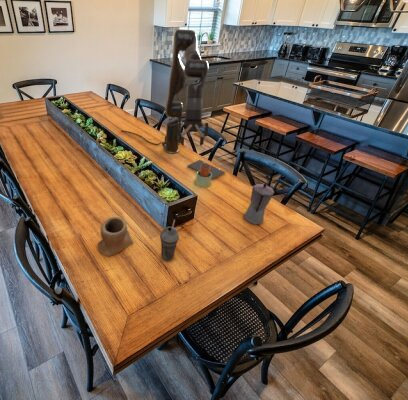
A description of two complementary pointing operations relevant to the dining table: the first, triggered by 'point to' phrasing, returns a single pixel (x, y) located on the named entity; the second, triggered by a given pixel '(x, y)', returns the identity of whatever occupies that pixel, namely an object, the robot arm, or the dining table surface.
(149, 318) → the dining table surface
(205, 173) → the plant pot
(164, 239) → the beverage cup
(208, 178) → the cup
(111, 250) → the stone cup
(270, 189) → the moka pot
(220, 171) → the slate board
